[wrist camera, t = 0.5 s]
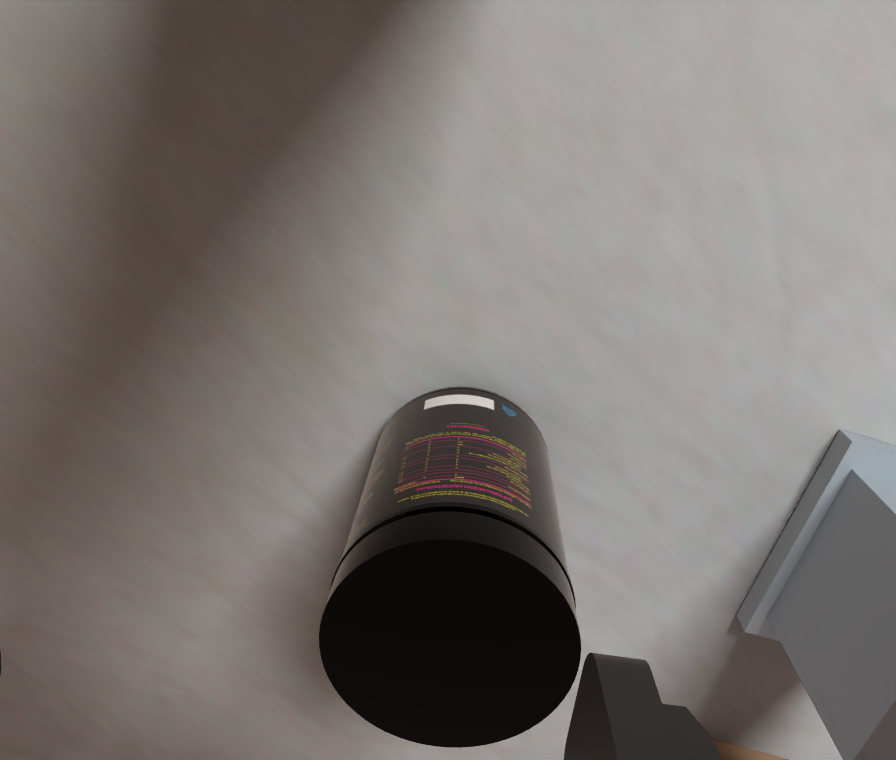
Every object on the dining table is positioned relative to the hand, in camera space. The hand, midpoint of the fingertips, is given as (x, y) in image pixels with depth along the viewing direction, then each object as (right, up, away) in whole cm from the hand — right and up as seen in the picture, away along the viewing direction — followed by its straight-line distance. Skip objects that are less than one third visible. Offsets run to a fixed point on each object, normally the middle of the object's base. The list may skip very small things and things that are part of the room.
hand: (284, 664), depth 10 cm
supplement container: (+3, +1, +19) cm, 19 cm away
